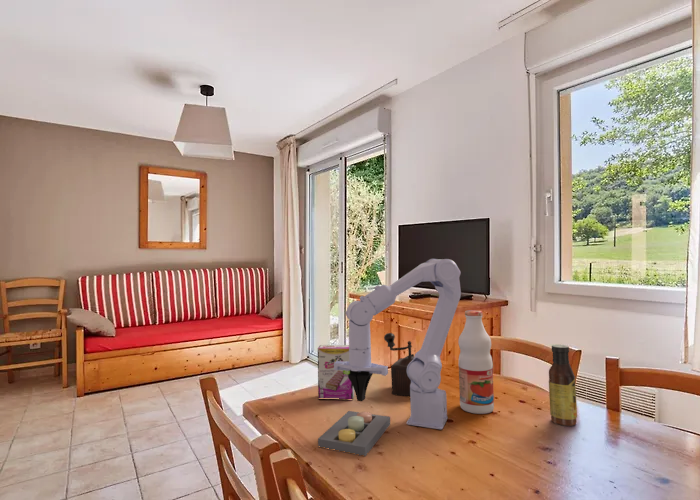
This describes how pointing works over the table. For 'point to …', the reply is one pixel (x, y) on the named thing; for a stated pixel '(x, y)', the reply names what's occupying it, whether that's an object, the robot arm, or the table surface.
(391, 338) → the dark brown coffee grinder
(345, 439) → the mustard button
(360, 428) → the sage button
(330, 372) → the candy bar box
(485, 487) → the table surface
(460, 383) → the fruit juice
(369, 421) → the terracotta button
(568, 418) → the sauce bottle
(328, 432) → the panel
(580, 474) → the table surface
